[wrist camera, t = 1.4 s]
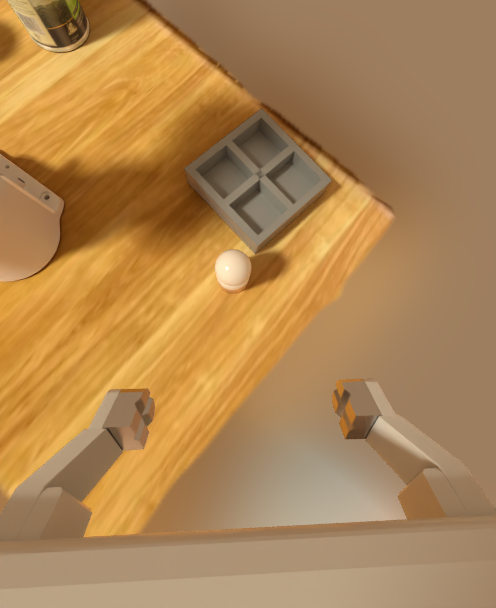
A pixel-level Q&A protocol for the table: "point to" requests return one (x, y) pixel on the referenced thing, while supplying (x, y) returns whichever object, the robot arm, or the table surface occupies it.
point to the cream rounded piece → (233, 271)
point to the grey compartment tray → (257, 180)
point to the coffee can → (53, 23)
